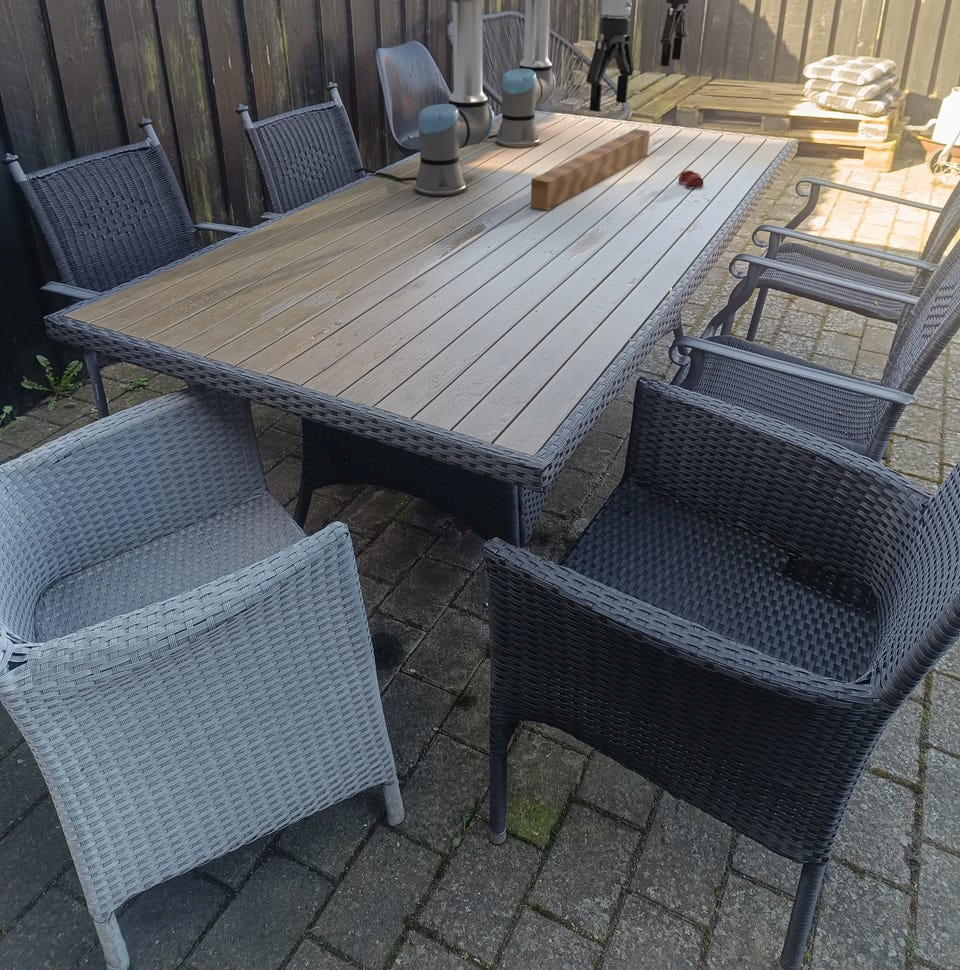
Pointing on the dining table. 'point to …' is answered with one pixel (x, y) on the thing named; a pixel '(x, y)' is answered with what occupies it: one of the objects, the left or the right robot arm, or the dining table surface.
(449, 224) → the dining table surface
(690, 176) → the dark red rounded lump
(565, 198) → the bar
